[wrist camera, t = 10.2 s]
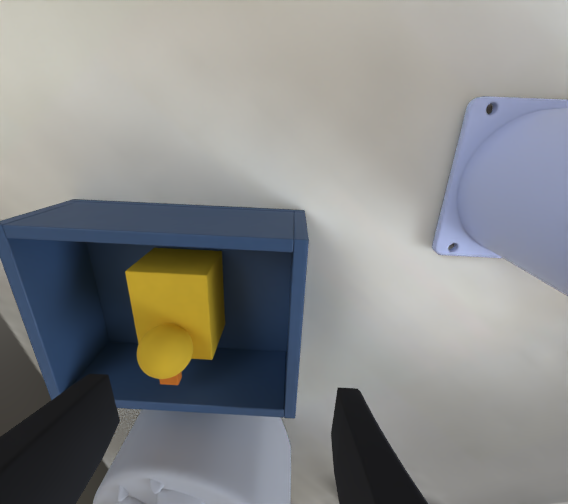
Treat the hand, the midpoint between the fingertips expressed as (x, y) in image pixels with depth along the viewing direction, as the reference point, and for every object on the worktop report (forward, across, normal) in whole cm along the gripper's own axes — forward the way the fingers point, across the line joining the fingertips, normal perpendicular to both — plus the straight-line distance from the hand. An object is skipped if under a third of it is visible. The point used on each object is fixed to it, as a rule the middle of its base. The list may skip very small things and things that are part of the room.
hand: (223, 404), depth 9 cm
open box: (+9, +4, +1) cm, 10 cm away
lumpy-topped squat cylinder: (+10, +3, +14) cm, 17 cm away
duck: (+9, +4, +1) cm, 10 cm away
